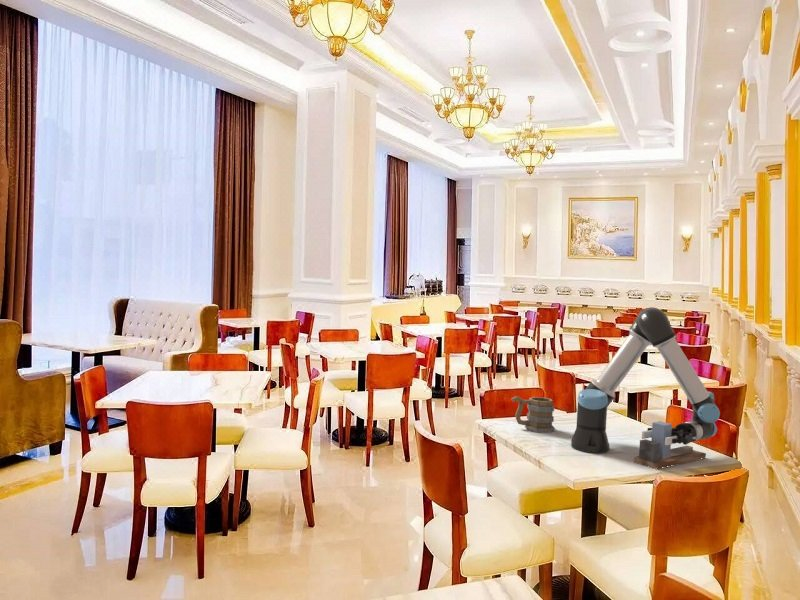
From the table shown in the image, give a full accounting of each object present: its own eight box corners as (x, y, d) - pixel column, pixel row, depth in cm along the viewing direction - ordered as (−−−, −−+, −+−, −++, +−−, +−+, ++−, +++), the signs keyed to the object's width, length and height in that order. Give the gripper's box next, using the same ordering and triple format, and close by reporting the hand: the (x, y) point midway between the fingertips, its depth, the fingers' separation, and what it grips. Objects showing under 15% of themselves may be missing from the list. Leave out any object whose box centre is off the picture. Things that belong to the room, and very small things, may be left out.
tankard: (550, 426, 289) (551, 394, 288) (556, 433, 276) (558, 400, 275) (507, 424, 289) (509, 393, 289) (512, 431, 277) (513, 398, 276)
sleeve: (650, 455, 238) (652, 422, 237) (657, 454, 241) (659, 421, 240) (662, 459, 234) (664, 425, 233) (670, 457, 236) (672, 424, 236)
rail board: (634, 462, 236) (635, 439, 236) (682, 451, 254) (683, 430, 254) (657, 469, 228) (658, 445, 228) (705, 458, 246) (707, 436, 245)
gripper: (714, 448, 238) (680, 455, 225) (662, 434, 256) (629, 440, 244) (715, 429, 237) (681, 435, 225) (664, 416, 256) (630, 422, 243)
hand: (654, 438), depth 234 cm, fingers open, 9 cm apart
